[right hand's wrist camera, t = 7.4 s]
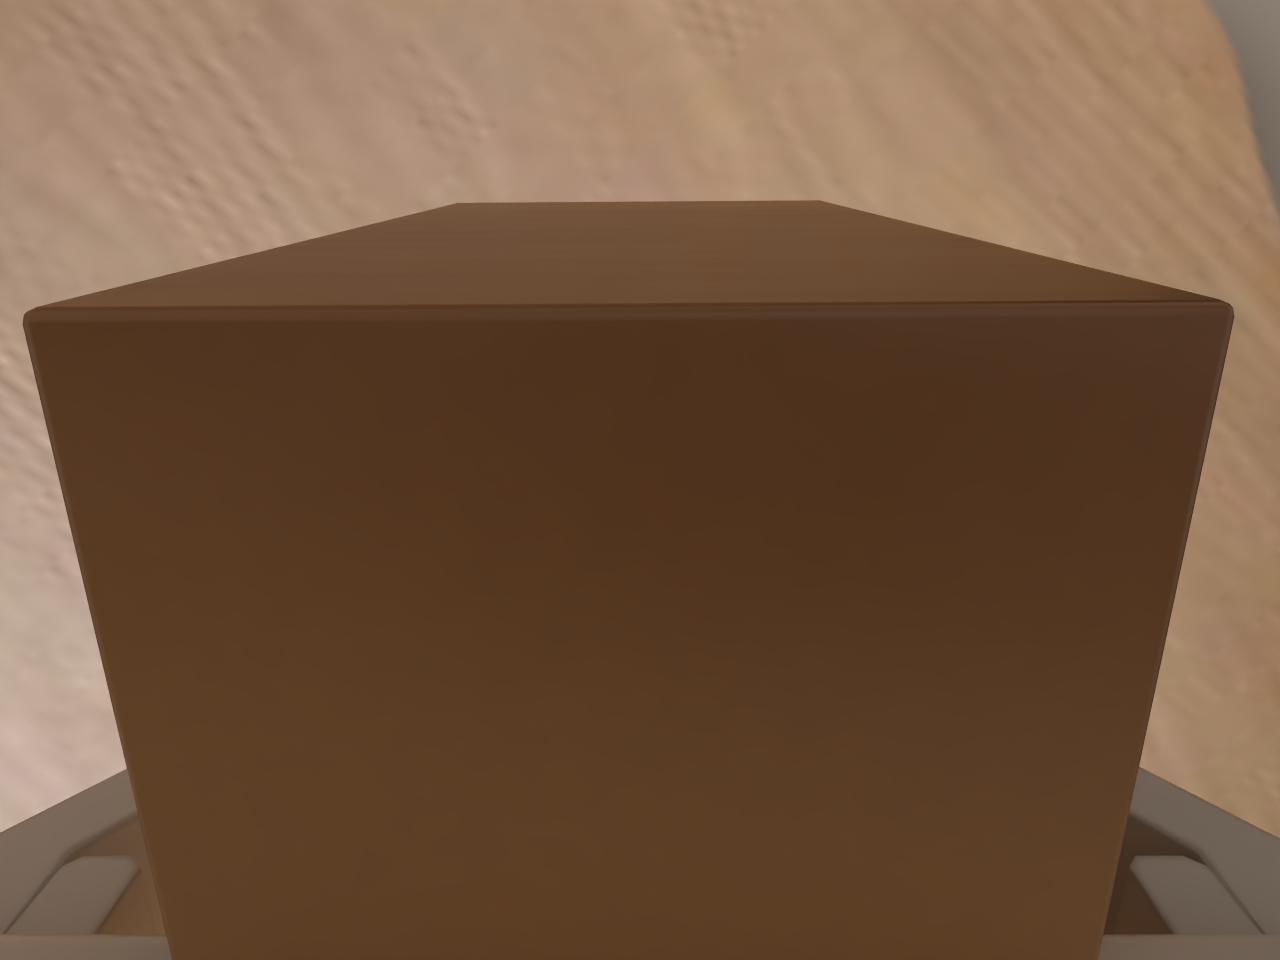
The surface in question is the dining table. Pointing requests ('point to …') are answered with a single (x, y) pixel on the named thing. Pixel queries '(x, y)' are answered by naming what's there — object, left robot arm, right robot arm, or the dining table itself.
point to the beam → (632, 581)
